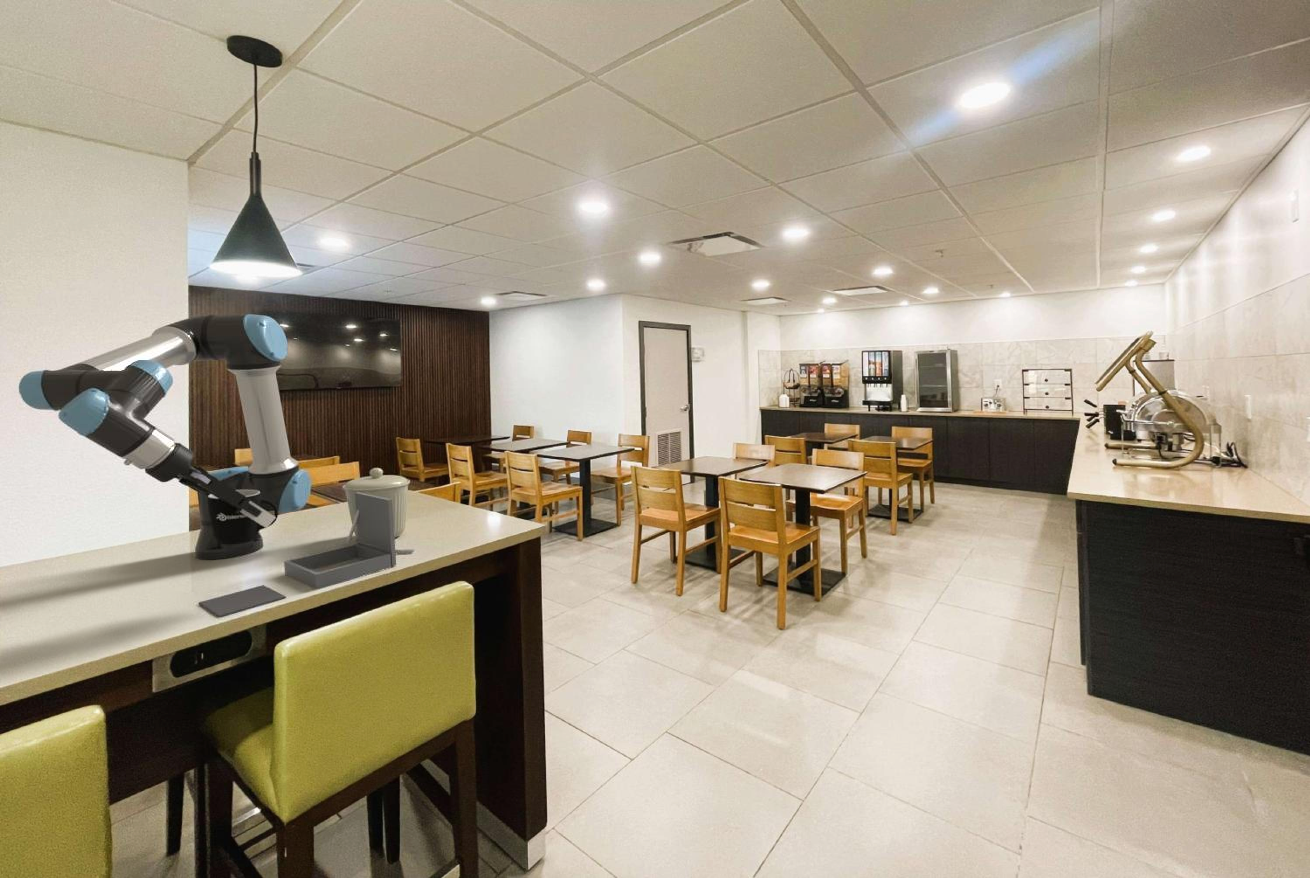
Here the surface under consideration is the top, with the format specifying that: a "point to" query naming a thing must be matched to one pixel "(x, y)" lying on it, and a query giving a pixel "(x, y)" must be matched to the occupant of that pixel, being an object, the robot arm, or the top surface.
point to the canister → (381, 495)
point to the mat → (241, 600)
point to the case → (353, 547)
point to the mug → (235, 519)
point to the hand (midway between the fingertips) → (261, 519)
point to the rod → (404, 551)
